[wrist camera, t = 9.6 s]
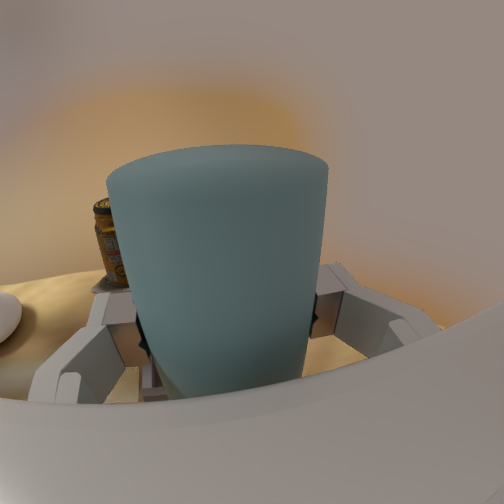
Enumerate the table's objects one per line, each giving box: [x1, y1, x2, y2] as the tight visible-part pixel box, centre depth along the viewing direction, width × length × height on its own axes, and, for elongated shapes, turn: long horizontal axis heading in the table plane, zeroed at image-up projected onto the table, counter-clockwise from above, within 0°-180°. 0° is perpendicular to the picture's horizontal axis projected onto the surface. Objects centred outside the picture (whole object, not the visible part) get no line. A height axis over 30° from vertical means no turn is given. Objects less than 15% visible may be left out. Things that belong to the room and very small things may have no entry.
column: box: [106, 145, 329, 400], centre depth 9 cm, size 5×5×10 cm
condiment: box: [90, 198, 130, 293], centre depth 38 cm, size 7×8×12 cm
